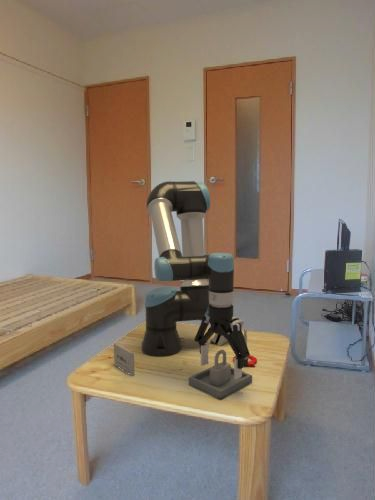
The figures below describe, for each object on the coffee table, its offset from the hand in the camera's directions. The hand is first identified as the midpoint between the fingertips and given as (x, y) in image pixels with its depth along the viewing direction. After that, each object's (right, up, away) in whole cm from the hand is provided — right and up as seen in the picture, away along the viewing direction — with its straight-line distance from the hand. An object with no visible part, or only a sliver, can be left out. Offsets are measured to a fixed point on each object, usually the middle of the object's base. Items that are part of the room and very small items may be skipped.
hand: (220, 371), depth 123 cm
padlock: (0, -4, +1) cm, 4 cm away
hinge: (+6, +1, +39) cm, 40 cm away
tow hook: (+10, -2, +17) cm, 20 cm away
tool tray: (0, -4, +1) cm, 4 cm away
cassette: (-32, -3, +11) cm, 34 cm away
